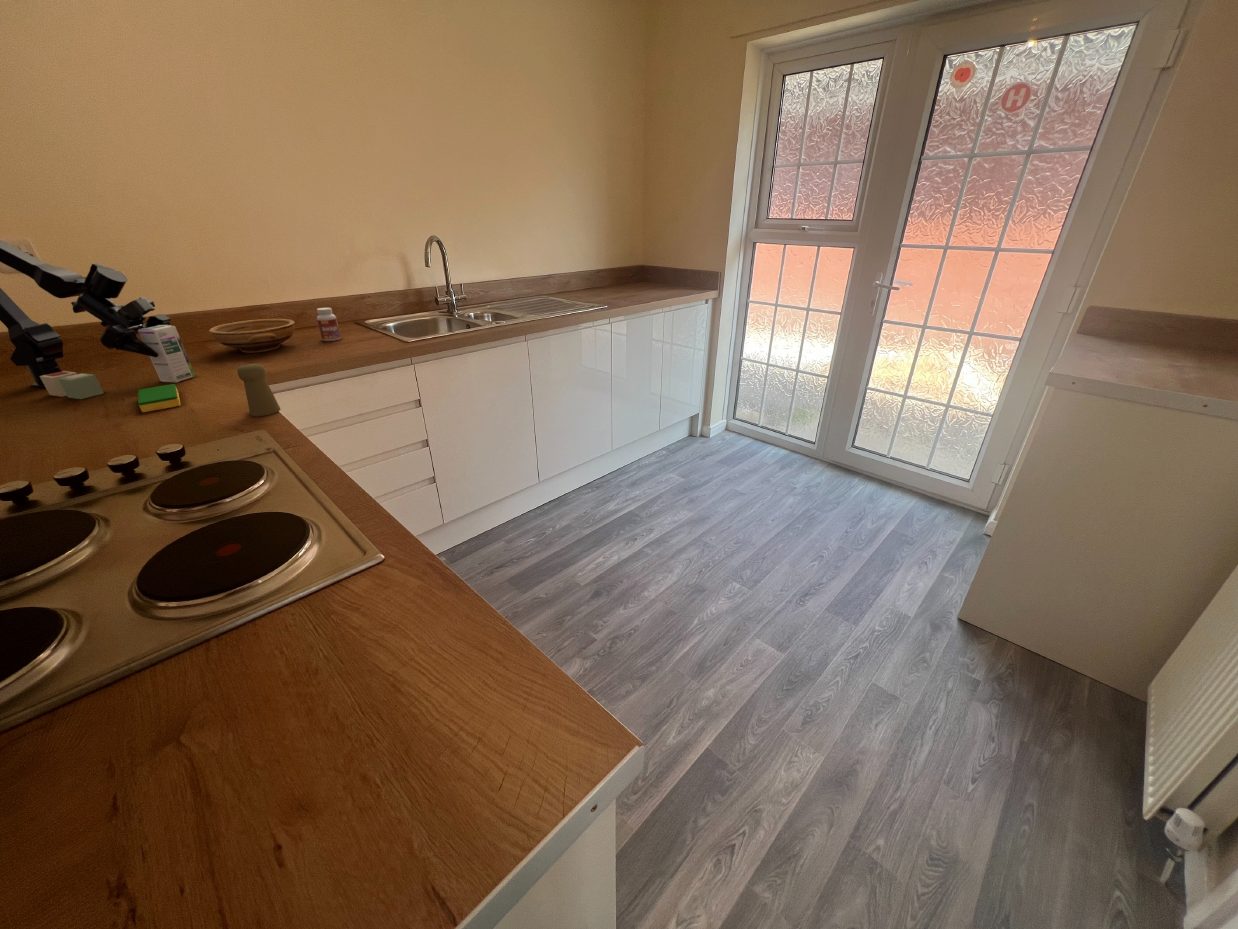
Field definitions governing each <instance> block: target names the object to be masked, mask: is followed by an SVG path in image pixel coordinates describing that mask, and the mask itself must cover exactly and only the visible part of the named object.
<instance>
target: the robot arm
mask: <svg viewBox="0 0 1238 929" xmlns="http://www.w3.org/2000/svg"><path fill="white" fill-rule="evenodd" d="M0 263H1V264H4V265H5V266H8V267H9V268H10V269H13V270H15V271H16V272H19V273H21V274H22V275H25V276H27V277H28V278H30V279H32V280H33V281H34V282H35V284H36V285H37V286H38V287H39V288H40V289H41V290H44V291H45V292H46V293H48V294H49V295H51V296H53V297H55V298H57V299H67V298H73V297H74V298H75V297H77V299H76V301H75V300H74V301H71V302H70V304H71V306H72V312H73V313H74V314H79V313H85V312H86V313H89V314H91V315H92V316H93V317H94V318H96V319H98V320H99V321H101V322H100V325H101V326H102V327H104V328H105V329H104V331H103V333H102V334H101V335H100V336H101V337H100V338H99V341H100V344H101V345H102V346H103V347H105V348H107V349H108V350H113V349H114V350H116V351H124V352H129V353H135V354H139V355H144V356H148V357H150V356H152V357H158V355H159V354H158V353H157V352H155V351H154V350H153V349H152V348H150V347H149V346H147V345H146V344H145V343H143V341H142V339H139V337H138V336H137V335H140V334H139V332H138V329H144V328H149V327H154V326H158V325H171V320H172V319H171V318H170V317H169V316H167V315H166V314H164V313H158V314H154V315H151V316H149V317H148V319H147V320H146V318H147V316H146V315H147V314H148V313H150V312H153V311H155V310H156V308H155V307H156V305H155V302H154V300H151V299H150V298H148V297H146V296H140V297H138V298H136V299H134V300H131V301H130V302H128V303H126V304H121V305H119V303H116V302H115V301H113V300H112V299H117V298H119V296H120V294H121V293H122V290H123V289H124V287H125V285H126V283H127V282H128V277H127V275H125V274H124V273H123V272H121V271H119V270H116V269H114V268H111V267H108V266H104V265H102V264H101V263H100V262H99V263H92V264H91V265H90V267H89V271H88V273H87V275H86V276H82V274H80V273H78V272H75V271H72V270H69V269H67V268H64V267H60V266H55V265H51V264H48V263H46V262H44V261H42V260H40V259H38V258H36V257H34V256H32V255H30V254H28V253H26V252H25V251H23V250H21V249H19V248H17V247H15V246H13V245H11V244H10V243H8V242H5V241H4V240H2V239H0ZM144 321H146V322H145V323H144ZM0 322H1V323H2V324H3V325H4V326H5V328H6V329H7V332H8V337H9V338H8V339H9V341H10V342H11V344H12V345H13V346H14V350H13V352H12V354H11V356H10V357H9V360H10V361H11V362H12V363H13V364H14V365H15V366H16V367H26V368H27V369H28V371H29V373H30V375H31V376H32V378H33V380H34V382H32V383H30V384H29V385H30V386H31V387H37V388H46V387H45V385H44V384H43V382H42V380H41V378H40V376H43V375H48V374H52V373H57V372H62V369H61V367H60V364H59V363H58V361H57V360H58V359H62V358H64V342H63V340H62V339H61V338H62V336H61V335H60V334H59V333H57V332H56V331H55V330H54V329H53V327H52V326H51V325H50V324H49V323H47V322H44V323H39V322H36V321H34V320H33V319H31V318H30V317H29V316H28V315H27V313H25V312H24V311H23V309H22V308H20V307H19V306H18V304H17V303H16V302H15V301H14V300H13V299H12V298H11V297H10V296H9V295H8V294H7V293H6V291H4V290H3V289H2V288H1V287H0Z"/></svg>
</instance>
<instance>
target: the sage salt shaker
mask: <svg viewBox="0 0 1238 929" xmlns="http://www.w3.org/2000/svg"><path fill="white" fill-rule="evenodd" d="M266 371H267V370H266V368H265V367H264V366H263V365H262V364H260V363H248V364H243V365H240V366H239V367H238V368H237V375H238V378H239V379H240V380H241V381H243V385H244V390H245V395H246V400H247V405H248V406H247V407H248V411H249V415H250V416H251V417H263V416H264V417H265V416H270V415H273V414H277V413H278V412H280V411H281V407H280V405H279V403H278V400H277V399H276V397H275V395H274V393H273V391H272V388H271V387H270V385H269V383H268V381H267V379H266V377H267V372H266Z"/></svg>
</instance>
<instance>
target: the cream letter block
mask: <svg viewBox="0 0 1238 929" xmlns="http://www.w3.org/2000/svg"><path fill="white" fill-rule="evenodd" d="M61 371H62V370H61ZM77 374H78V373H77V372H75V371H74V372H73V371H67V370H63V371H62V372H57V373H52V374H48V375H43V376H40V378H41V380H42V382H43V384H44V385H45V387H44V388H45V389H46V391H47V393H48V394H49V396H55V397H60V398H61V397H62V398H63V397H68V396H67V395H66V393H65V391H64V389H63V387H62V385H61V383H60V381H59V378H63V377H68V376H72V375H77Z"/></svg>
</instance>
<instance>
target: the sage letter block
mask: <svg viewBox="0 0 1238 929" xmlns="http://www.w3.org/2000/svg"><path fill="white" fill-rule="evenodd" d="M59 381H60V383H61V385H62V387H63V389H64V391H65V393H66V395H67V396H66V397H67V398H68V399H73V400H74V399H75V400H84V399H87V398H91V397H95V396H96V397H97V396H100V395H103V394H104V391H103V388H102V387H101V385H100V382H99V380H98V378H97V376H96V375H95V374H91V373H85V372H84V373H83V372H82V373H81V372H80V373H77V375H72V376H68V377H63V378H59Z"/></svg>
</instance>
